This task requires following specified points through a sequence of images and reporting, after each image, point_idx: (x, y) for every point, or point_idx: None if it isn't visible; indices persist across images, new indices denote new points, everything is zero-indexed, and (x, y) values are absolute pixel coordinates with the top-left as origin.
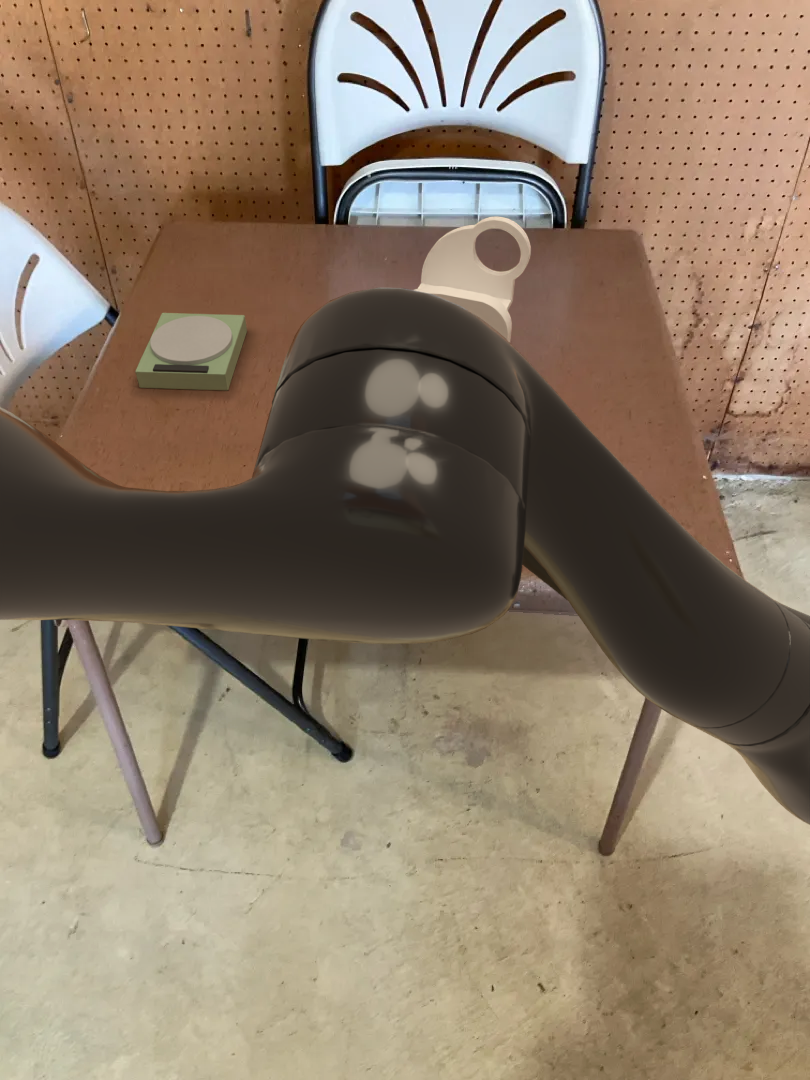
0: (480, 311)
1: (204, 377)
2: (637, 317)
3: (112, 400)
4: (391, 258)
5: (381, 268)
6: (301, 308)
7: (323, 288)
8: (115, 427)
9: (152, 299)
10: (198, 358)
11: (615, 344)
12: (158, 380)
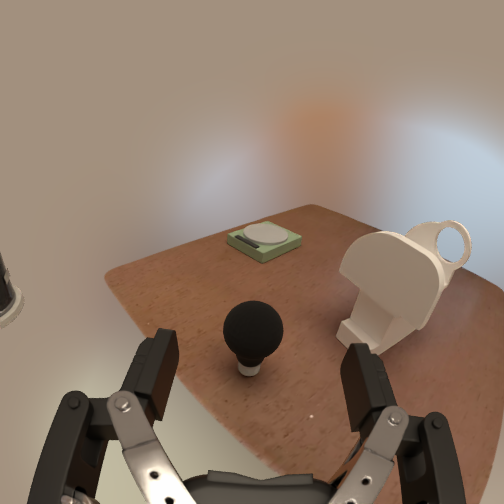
0: (422, 264)
1: (253, 250)
2: (500, 333)
3: (211, 242)
4: None
5: None
6: (336, 249)
7: None
8: (197, 252)
9: (274, 219)
10: (258, 240)
11: (487, 344)
12: (234, 243)
